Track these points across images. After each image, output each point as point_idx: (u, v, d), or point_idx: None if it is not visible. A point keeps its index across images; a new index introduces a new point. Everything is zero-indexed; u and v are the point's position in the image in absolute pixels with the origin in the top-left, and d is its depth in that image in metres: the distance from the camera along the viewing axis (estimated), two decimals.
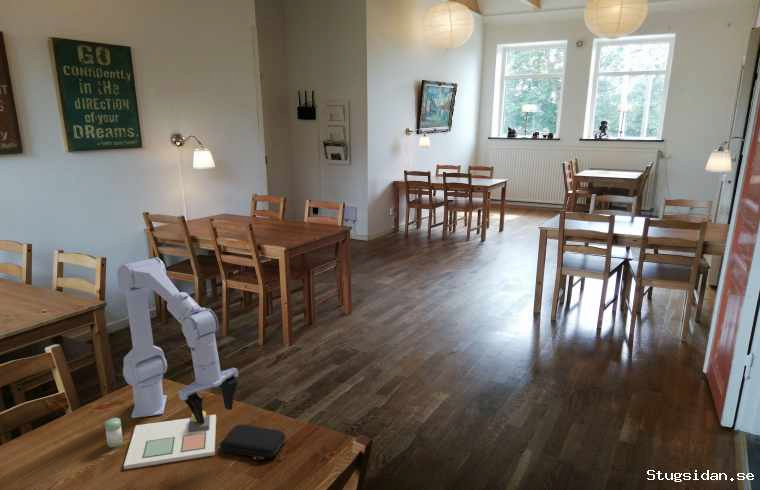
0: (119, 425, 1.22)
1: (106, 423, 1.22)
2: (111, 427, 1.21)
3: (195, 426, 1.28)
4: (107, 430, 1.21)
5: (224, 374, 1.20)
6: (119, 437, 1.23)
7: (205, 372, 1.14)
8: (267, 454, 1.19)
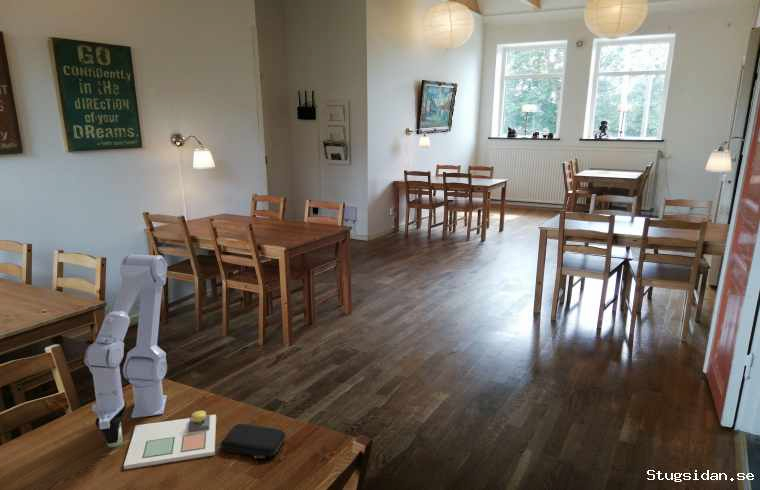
0: (119, 425, 1.22)
1: None
2: None
3: (195, 426, 1.28)
4: None
5: (105, 415, 1.17)
6: (119, 437, 1.23)
7: None
8: (268, 453, 1.19)
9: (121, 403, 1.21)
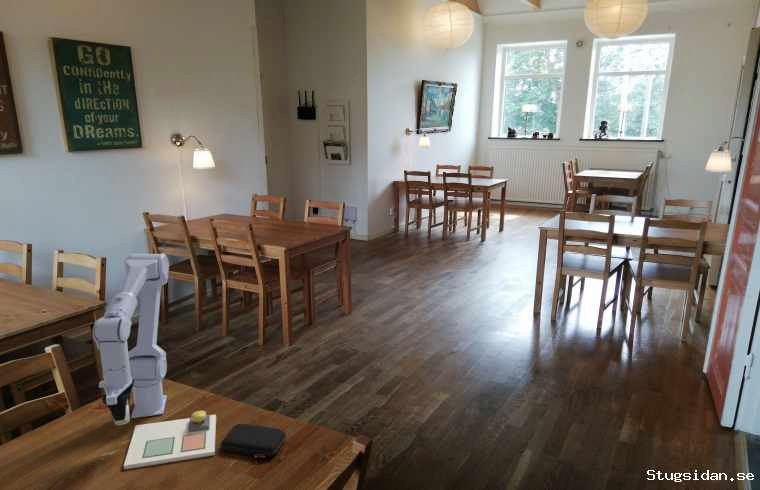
0: None
1: None
2: None
3: (195, 426, 1.28)
4: None
5: (112, 391, 1.15)
6: (126, 415, 1.20)
7: None
8: (268, 452, 1.19)
9: (129, 380, 1.19)
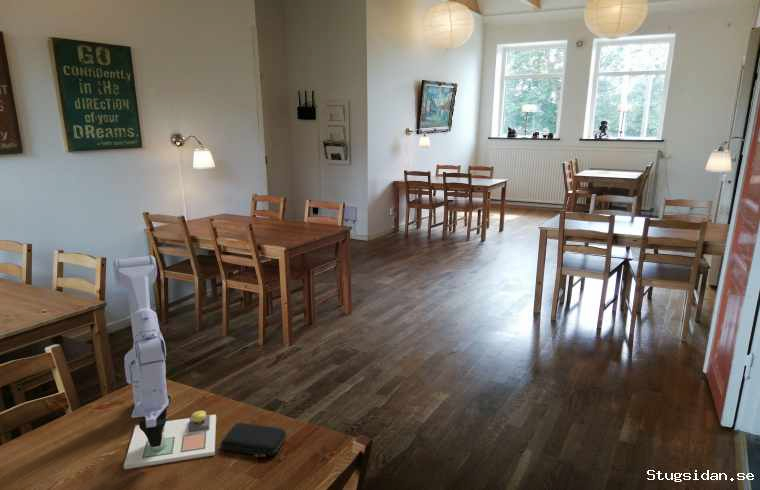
0: (163, 429, 1.20)
1: None
2: None
3: (195, 426, 1.28)
4: None
5: (151, 412, 1.14)
6: (163, 441, 1.20)
7: None
8: (268, 452, 1.19)
9: (166, 401, 1.18)
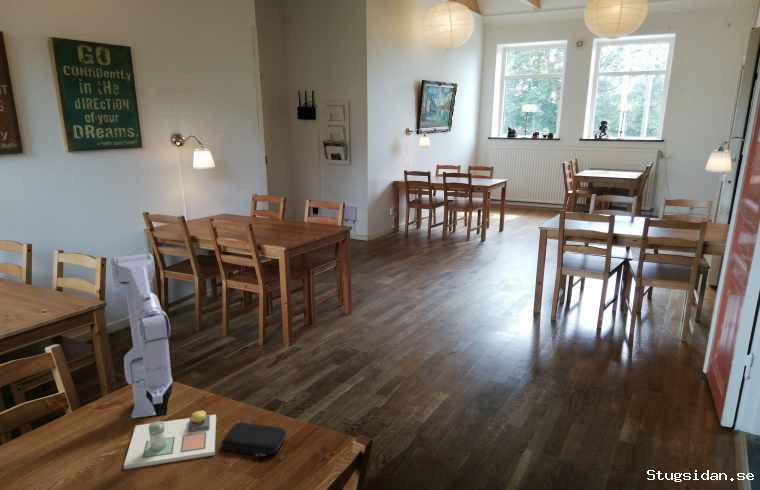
0: (163, 429, 1.20)
1: (150, 426, 1.19)
2: (155, 431, 1.18)
3: (195, 426, 1.28)
4: (151, 434, 1.18)
5: (156, 390, 1.14)
6: (163, 441, 1.20)
7: None
8: (269, 451, 1.20)
9: (170, 378, 1.18)
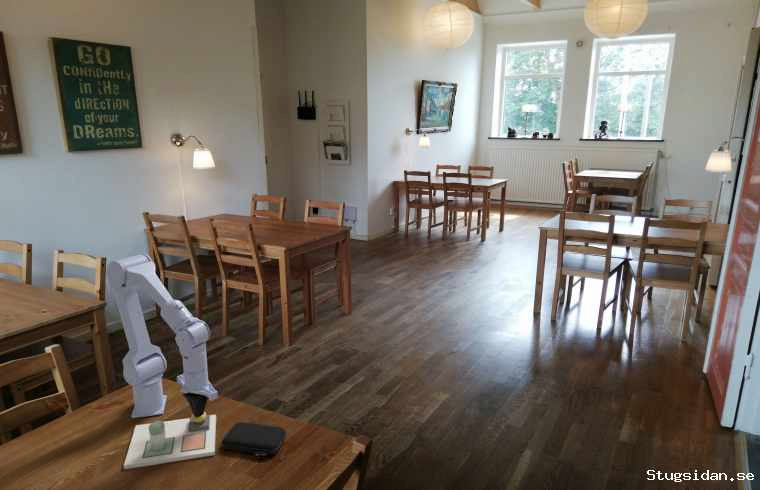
0: (163, 429, 1.20)
1: (150, 426, 1.19)
2: (155, 431, 1.18)
3: (195, 426, 1.28)
4: (151, 434, 1.18)
5: (205, 390, 1.25)
6: (163, 441, 1.20)
7: None
8: (269, 450, 1.20)
9: None
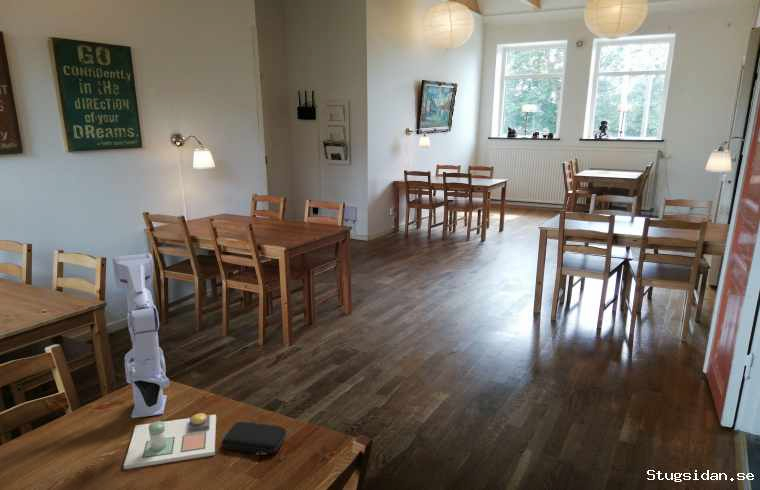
0: (163, 429, 1.20)
1: (150, 426, 1.19)
2: (155, 431, 1.18)
3: (195, 426, 1.28)
4: (151, 434, 1.18)
5: (156, 378, 1.19)
6: (163, 441, 1.20)
7: None
8: (269, 449, 1.20)
9: None
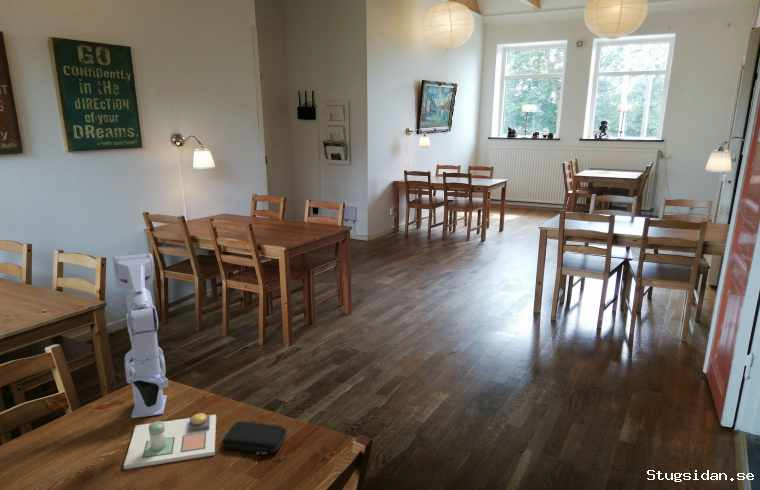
0: (163, 429, 1.20)
1: (150, 426, 1.19)
2: (155, 431, 1.18)
3: (195, 426, 1.28)
4: (151, 434, 1.18)
5: (155, 378, 1.19)
6: (163, 441, 1.20)
7: None
8: (270, 449, 1.20)
9: None
